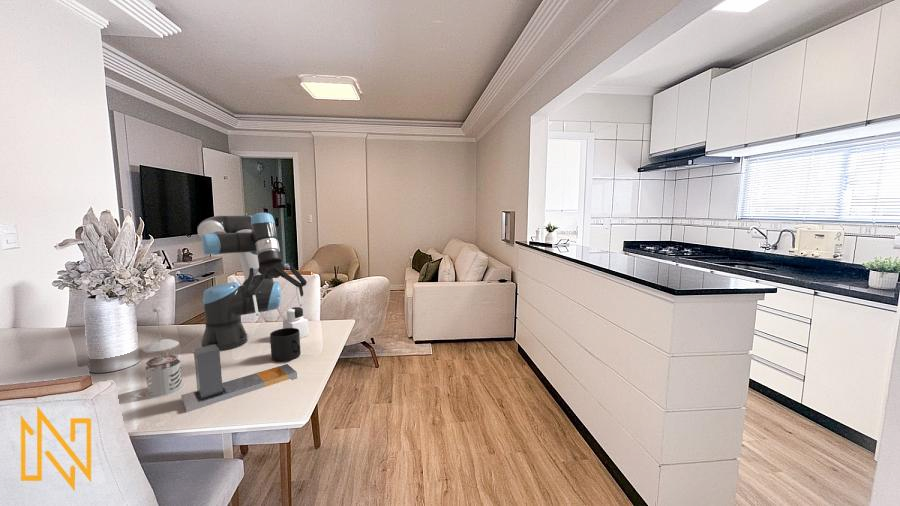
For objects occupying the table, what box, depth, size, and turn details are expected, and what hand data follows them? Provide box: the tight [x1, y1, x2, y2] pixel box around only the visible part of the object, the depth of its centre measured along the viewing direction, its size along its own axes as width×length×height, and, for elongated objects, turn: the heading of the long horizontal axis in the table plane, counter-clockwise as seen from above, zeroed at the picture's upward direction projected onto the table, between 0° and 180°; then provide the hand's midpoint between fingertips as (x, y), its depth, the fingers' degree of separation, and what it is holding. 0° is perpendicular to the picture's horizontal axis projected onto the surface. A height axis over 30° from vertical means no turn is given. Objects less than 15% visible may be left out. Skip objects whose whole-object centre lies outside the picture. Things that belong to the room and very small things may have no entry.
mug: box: [269, 327, 301, 363], centre depth 125 cm, size 9×12×9 cm
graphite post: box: [193, 344, 223, 401], centre depth 97 cm, size 5×5×14 cm
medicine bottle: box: [282, 306, 310, 339], centre depth 145 cm, size 7×7×12 cm
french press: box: [142, 306, 186, 399], centre depth 101 cm, size 10×12×25 cm
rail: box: [180, 363, 298, 413], centre depth 103 cm, size 8×28×2 cm, turn 134°
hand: (279, 310), depth 121 cm, fingers open, 13 cm apart
